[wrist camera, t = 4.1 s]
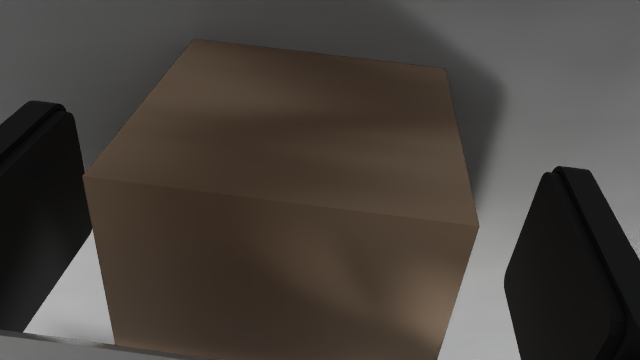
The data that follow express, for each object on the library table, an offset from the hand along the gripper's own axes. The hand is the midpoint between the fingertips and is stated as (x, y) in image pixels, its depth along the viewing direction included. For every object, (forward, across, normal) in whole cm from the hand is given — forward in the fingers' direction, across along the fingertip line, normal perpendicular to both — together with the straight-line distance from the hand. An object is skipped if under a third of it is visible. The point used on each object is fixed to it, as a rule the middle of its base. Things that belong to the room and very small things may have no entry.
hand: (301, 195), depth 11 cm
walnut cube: (+1, 0, 0) cm, 1 cm away
